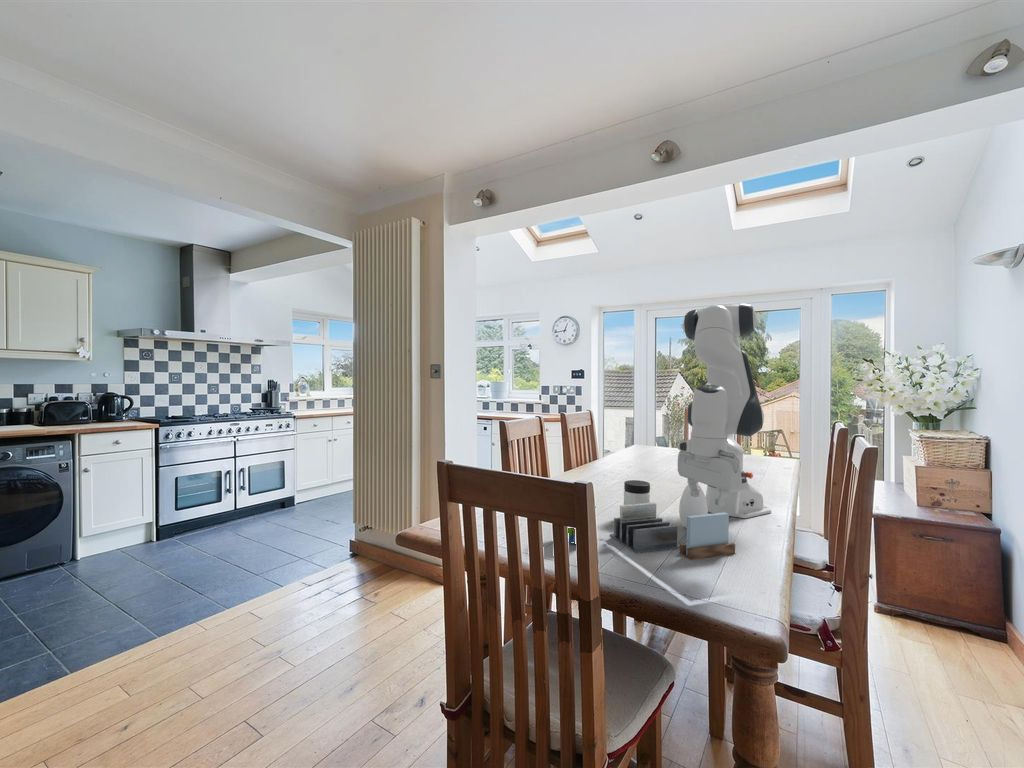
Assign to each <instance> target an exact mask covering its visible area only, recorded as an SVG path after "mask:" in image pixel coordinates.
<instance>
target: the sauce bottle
mask: <svg viewBox="0 0 1024 768" xmlns="http://www.w3.org/2000/svg"><path fill="white" fill-rule="evenodd" d="M696 485H697V489H698V490H700V492H699V497H694V496H691V495H690V487H689V485H688V484H687V485H686V486H685V488H684V489H683V491H682V494H681V497H680V500H679V506H678V511H679V512H678V513H679V518H680V522H681V524H682V526H683V528H686V529H687V516H694V515H704V514H709V512H708V508H707V502H706V498H705V496H706V494H705V493H704V490H703V489H702V487H701V486H700V484H699V482H697V483H696Z"/></svg>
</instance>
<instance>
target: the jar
mask: <svg viewBox="0 0 1024 768" xmlns="http://www.w3.org/2000/svg"><path fill="white" fill-rule="evenodd" d="M623 486H624V487H623V505H630V504H641V503H651V483H650V482H648V481H645V480H639V479H638V480H637V479H634V480H633V479H632V480H631V479H629V480H625V481H624V484H623Z"/></svg>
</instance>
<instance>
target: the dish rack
mask: <svg viewBox="0 0 1024 768" xmlns="http://www.w3.org/2000/svg"><path fill="white" fill-rule="evenodd" d="M670 523H671V522H669V521H667V520H666V521H663V518H661V517H657V503H656V502H650V503H641V504H630V505H624V504H620V505H619V517H613V533H610V534H609V537H610V538H613V539H614V540H615V541H617V542H619V543H620V544H621V545H623V546H624V547H626V548H627V549H629V550H630V551H632V552H634V553H635V554H645V553H652V552H659V551H660V552H661V551H669V550H676V549H677V550H678V549H680V544H679V543H678V526H677V525H675V524H674V525H671V524H670Z"/></svg>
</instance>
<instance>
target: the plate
mask: <svg viewBox="0 0 1024 768" xmlns="http://www.w3.org/2000/svg"><path fill="white" fill-rule="evenodd" d="M729 518H730V516H729V514H728V513H725V512H724V513H708V514H704V515H694V516H687V528H686V555H687V548H693V547H701V546H709V545H717V544H725V543H729V533H730V532H729V531H730V530H729V529H730V527H729V526H730V525H729V523H730V522H729V521H730V519H729Z"/></svg>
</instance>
